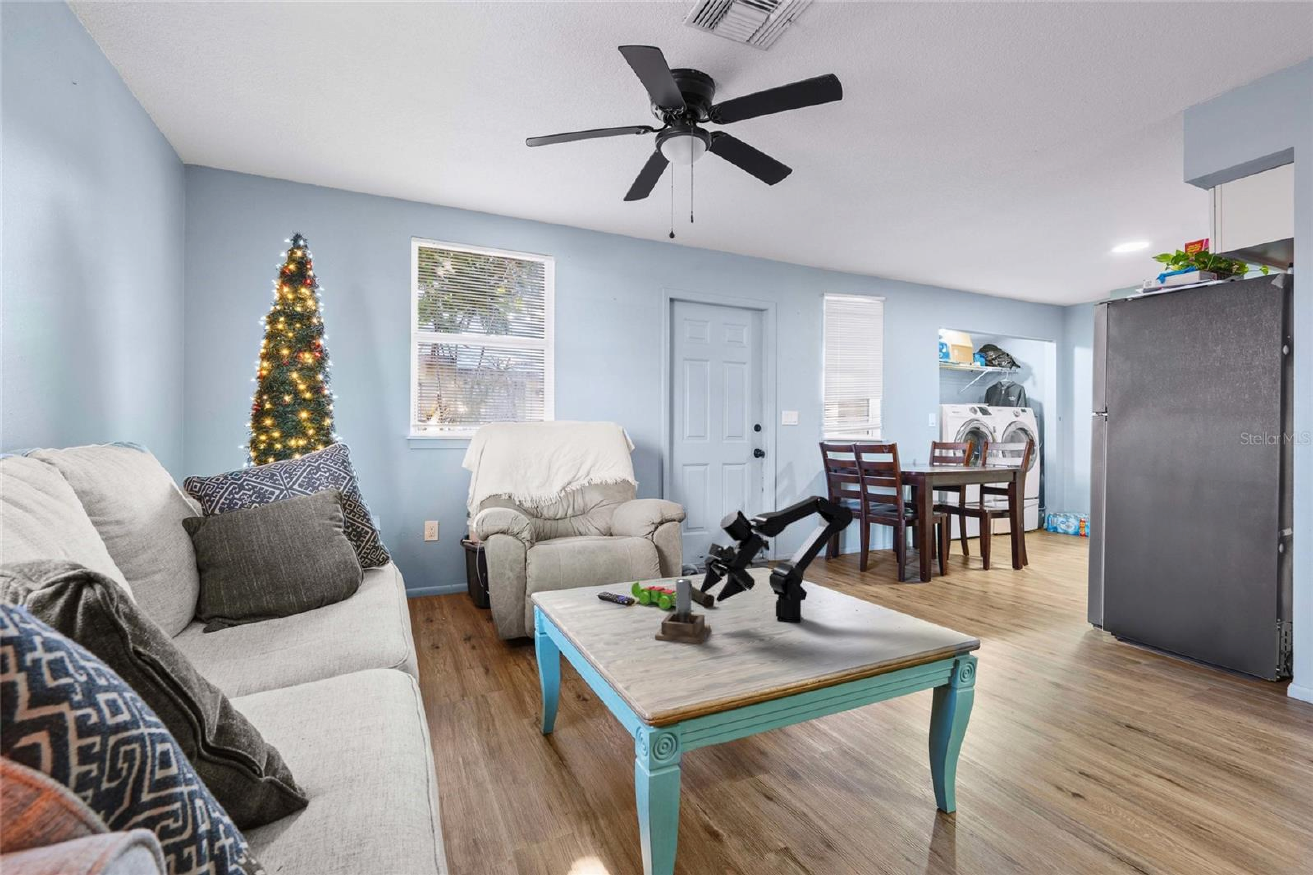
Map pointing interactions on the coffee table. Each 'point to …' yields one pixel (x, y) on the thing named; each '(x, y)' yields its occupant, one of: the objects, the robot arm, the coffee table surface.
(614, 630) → the coffee table surface
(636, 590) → the toy crocodile
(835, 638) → the coffee table surface
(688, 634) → the walnut box
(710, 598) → the hand tool
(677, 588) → the steel pin
